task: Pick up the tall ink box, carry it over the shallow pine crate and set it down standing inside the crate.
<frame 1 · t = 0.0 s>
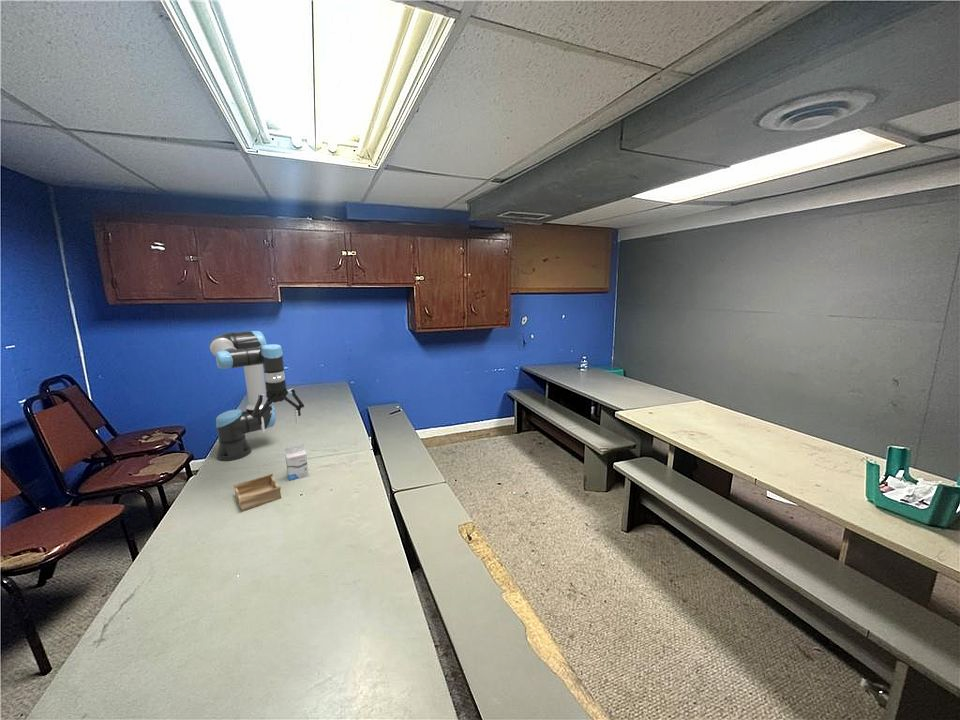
hand: (280, 427, 161), 28 cm above the table, fingers open, 13 cm apart
ink box: (298, 476, 174), on the table
crate: (258, 497, 158), on the table
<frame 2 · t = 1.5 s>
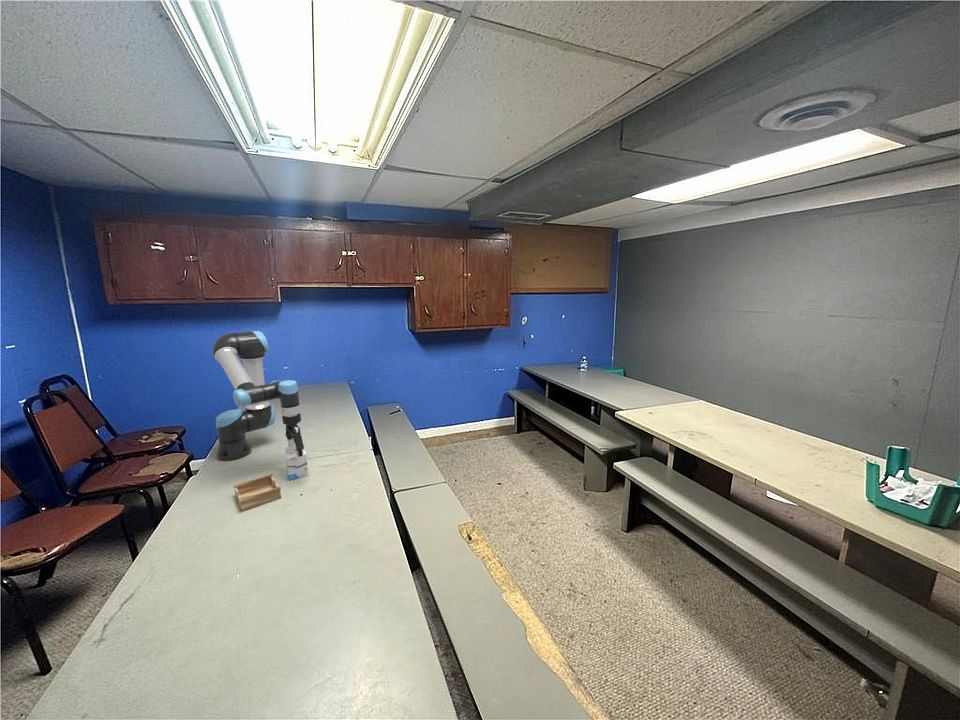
hand: (296, 457, 172), 10 cm above the table, fingers open, 13 cm apart
nothing on the table moved.
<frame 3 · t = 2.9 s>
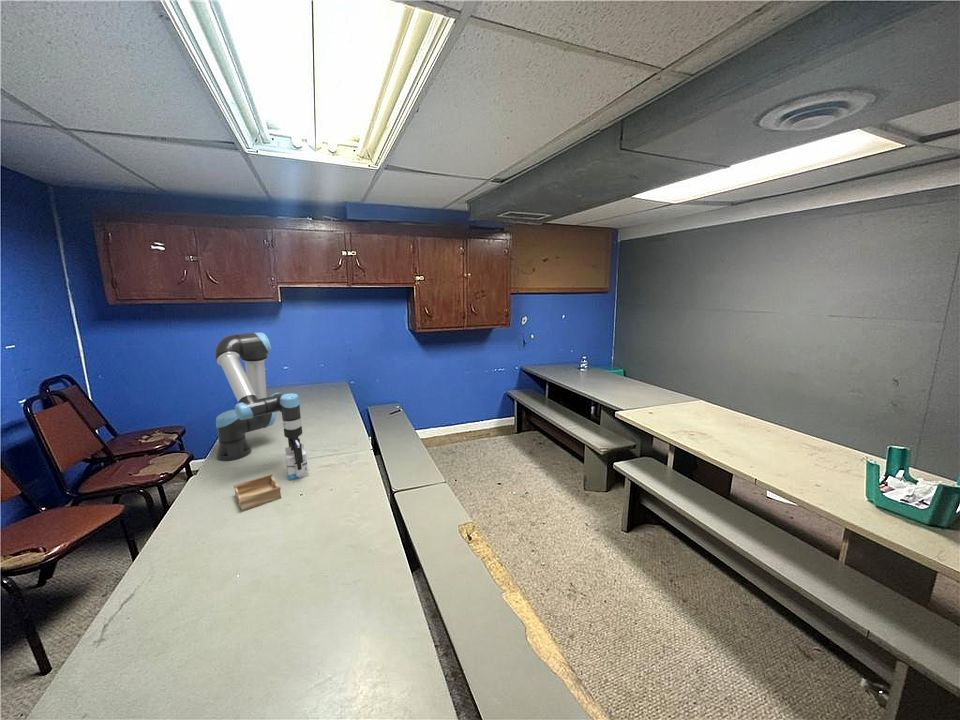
hand: (297, 472, 174), 2 cm above the table, fingers closed on ink box, 5 cm apart
ink box: (298, 476, 174), on the table, touching gripper
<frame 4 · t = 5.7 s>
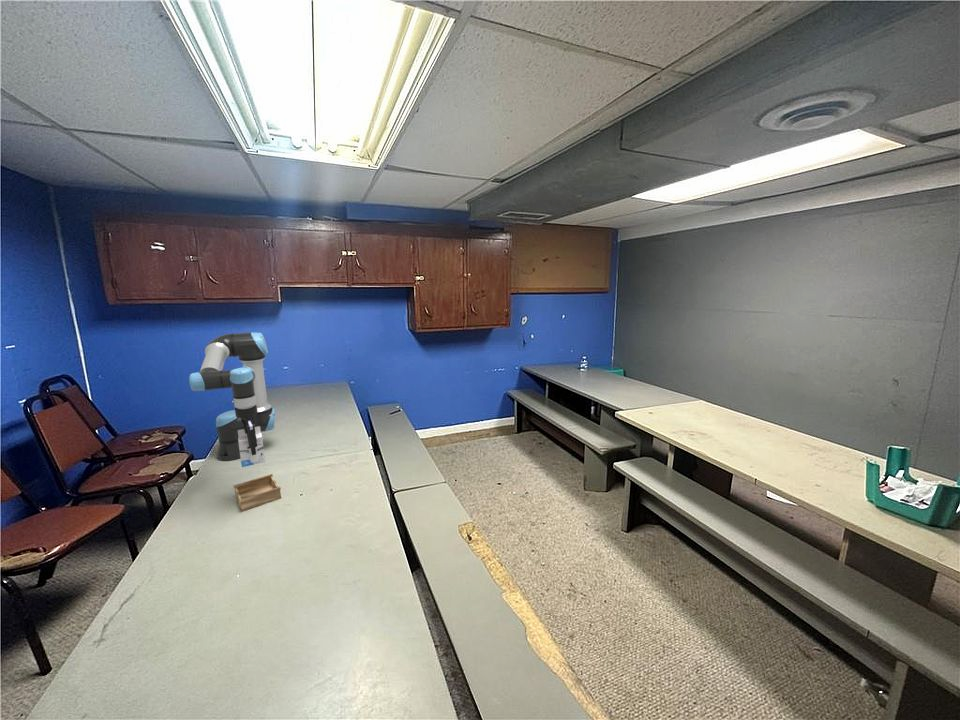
hand: (252, 458, 154), 18 cm above the table, fingers closed on ink box, 5 cm apart
ink box: (253, 462, 154), point 16 cm above the table, touching gripper
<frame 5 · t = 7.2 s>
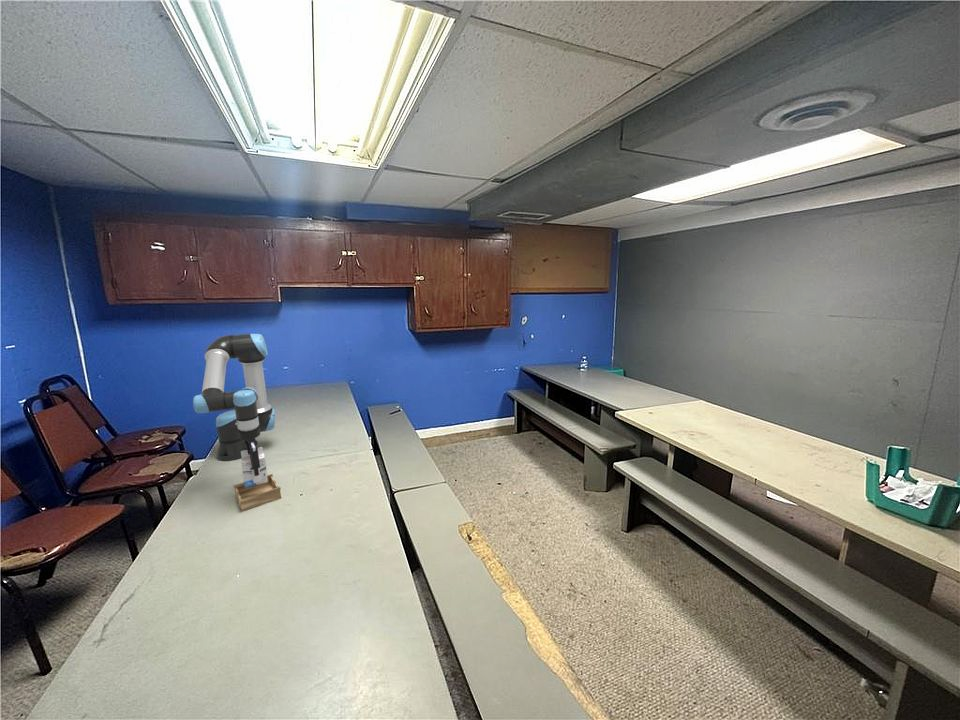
hand: (255, 478, 156), 9 cm above the table, fingers closed on ink box, 5 cm apart
ink box: (256, 483, 156), point 7 cm above the table, touching gripper
when the fingers open (4 cm above the table, at t = 8.4 s): ink box drops 2 cm, resting on crate.
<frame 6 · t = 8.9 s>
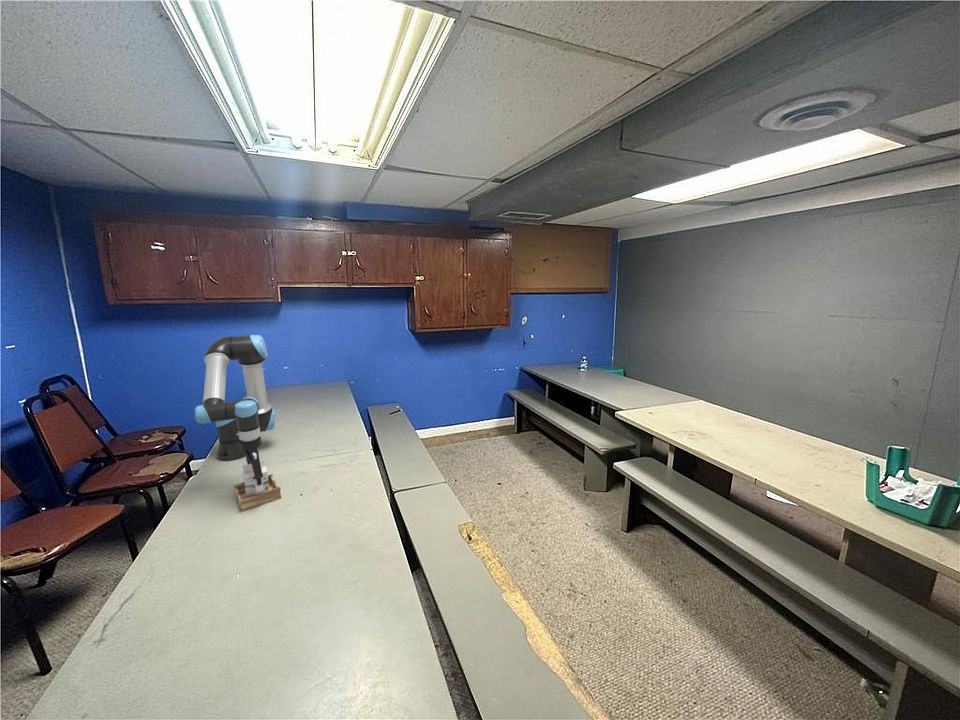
hand: (256, 484, 156), 6 cm above the table, fingers open, 12 cm apart
ink box: (258, 496, 157), resting on crate
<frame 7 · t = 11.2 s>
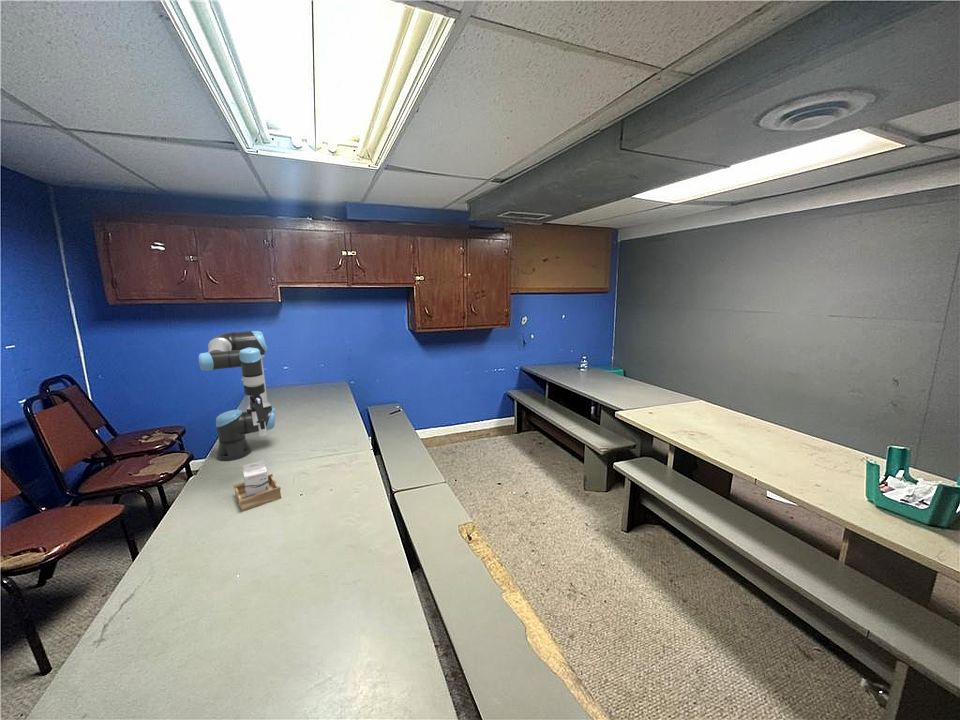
hand: (260, 430, 162), 26 cm above the table, fingers open, 13 cm apart
nothing on the table moved.
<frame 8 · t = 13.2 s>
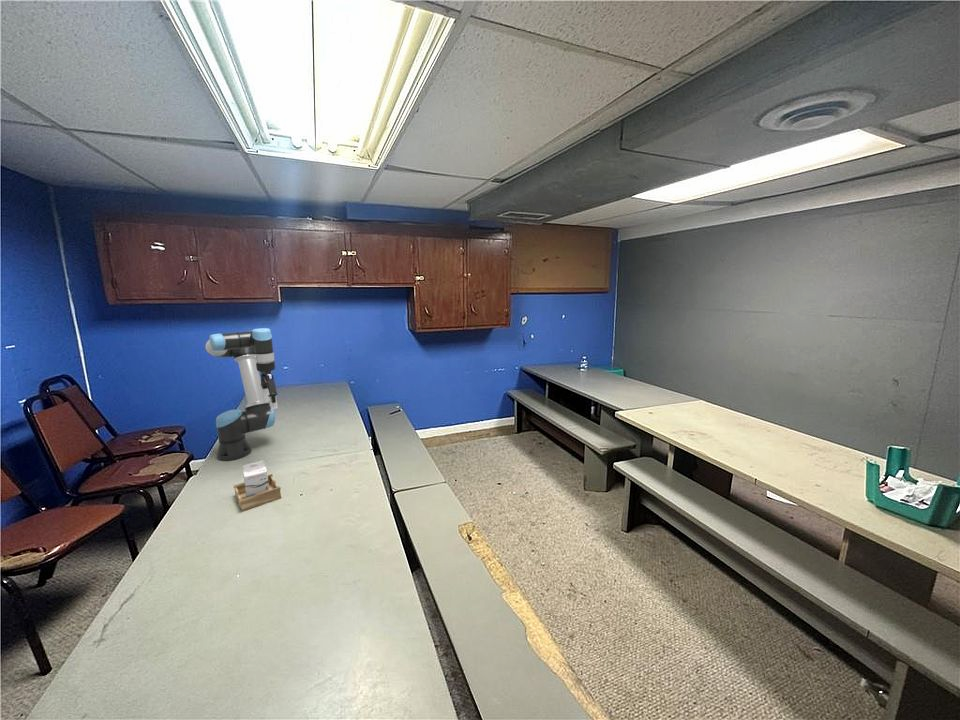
hand: (270, 405, 175), 33 cm above the table, fingers open, 13 cm apart
nothing on the table moved.
at the end: ink box inside the target area on the crate (0.3 cm from its centre), point 0.4 cm above the crate's base; ink box tilted 0°; the gripper is holding nothing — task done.
